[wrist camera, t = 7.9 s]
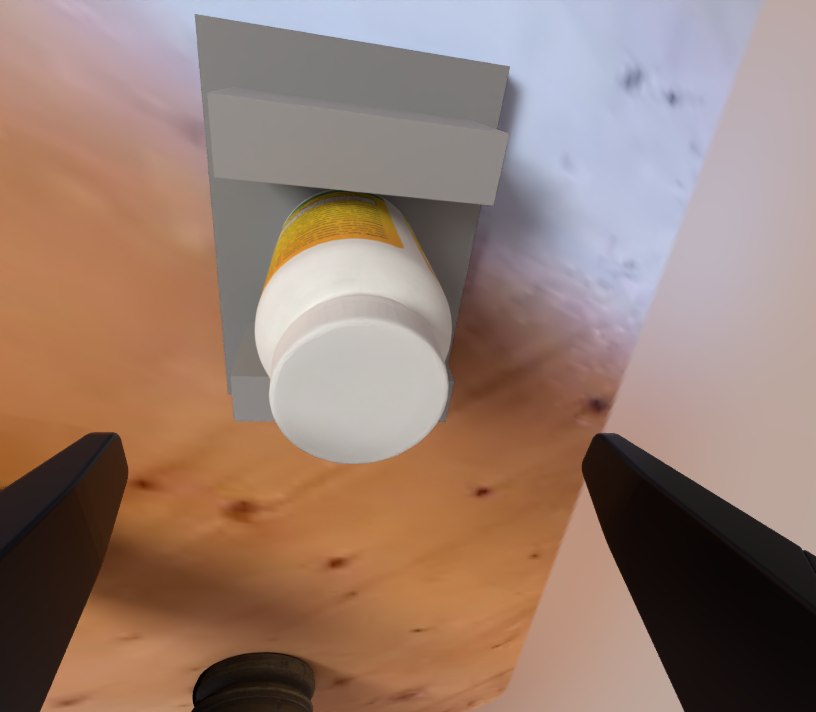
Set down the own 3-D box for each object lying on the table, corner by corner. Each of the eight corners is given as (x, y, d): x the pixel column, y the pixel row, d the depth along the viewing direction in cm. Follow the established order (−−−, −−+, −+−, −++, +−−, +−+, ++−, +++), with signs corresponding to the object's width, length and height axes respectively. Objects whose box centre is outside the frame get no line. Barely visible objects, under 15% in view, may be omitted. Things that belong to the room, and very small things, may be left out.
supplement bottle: (441, 244, 19) (529, 379, 10) (358, 336, 20) (380, 513, 12) (332, 150, 16) (339, 232, 8) (249, 264, 18) (186, 425, 10)
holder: (436, 385, 24) (461, 454, 19) (231, 381, 22) (209, 456, 17) (500, 66, 16) (560, 66, 12) (202, 17, 14) (151, -4, 10)
